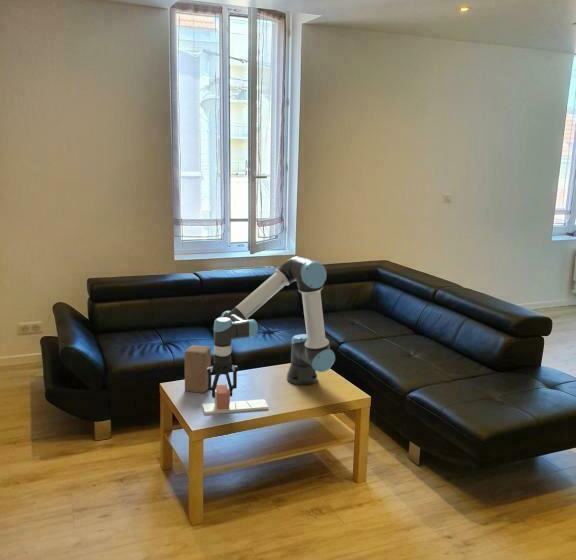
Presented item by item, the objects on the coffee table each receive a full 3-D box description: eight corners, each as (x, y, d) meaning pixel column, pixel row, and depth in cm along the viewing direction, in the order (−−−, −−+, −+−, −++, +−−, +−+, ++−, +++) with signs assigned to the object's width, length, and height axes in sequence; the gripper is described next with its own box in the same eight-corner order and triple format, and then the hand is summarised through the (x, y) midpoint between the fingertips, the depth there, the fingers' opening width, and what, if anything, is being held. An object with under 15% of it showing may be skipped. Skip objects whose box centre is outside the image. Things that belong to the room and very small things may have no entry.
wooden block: (204, 393, 269) (204, 353, 264) (183, 391, 271) (183, 351, 266) (211, 385, 278) (211, 346, 274) (191, 383, 280) (191, 344, 276)
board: (264, 401, 263) (264, 399, 262) (268, 409, 255) (268, 406, 255) (202, 406, 256) (202, 403, 255) (204, 414, 248) (204, 411, 248)
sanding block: (226, 401, 258) (226, 384, 257) (229, 410, 250) (229, 392, 248) (214, 402, 257) (215, 385, 255) (217, 410, 249) (217, 393, 247)
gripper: (241, 349, 254) (240, 398, 259) (200, 351, 249) (200, 401, 255) (244, 355, 247) (243, 405, 252) (202, 357, 242) (202, 409, 248)
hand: (222, 403), depth 253 cm, fingers closed on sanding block, 5 cm apart
